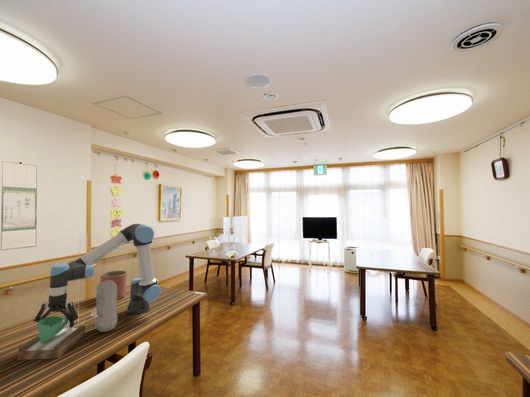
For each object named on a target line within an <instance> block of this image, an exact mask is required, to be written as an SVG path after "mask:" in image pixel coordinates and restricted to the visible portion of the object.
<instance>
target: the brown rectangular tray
mask: <svg viewBox="0 0 530 397" xmlns="http://www.w3.org/2000/svg"><path fill="white" fill-rule="evenodd" d="M85 335H86V325H80V326H78V327H72V332H71V333H70V334H67V328H63V329H62V330H61V331H60V332H59V333H57V334H56V335H55V336H54V338H53V339H52V340H51V341H48V342H41V340H40V337H39V334H38V335H37V336H35V337H34V338H33V339H30V340H29V341H28V342H26V343H25V344H23V345H22V346H20V347H18V352H17V355H18V356H17V361H26V360H27V361H28V360H46V359H59V358H60V356H61V355H62V356H63V355H64V354H65V353H66V352H68V351H69V350H70V349H71V348H72V347H73V346H74V345H75V344H77V343H78V342H79V341H80V340H81V339H82V338H83V337H84V336H85ZM62 356H61V357H62Z"/></svg>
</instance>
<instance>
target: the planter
mask: <svg viewBox="0 0 530 397" xmlns="http://www.w3.org/2000/svg"><path fill="white" fill-rule="evenodd" d="M99 276H100V277H99V284H100V283H102V282H104V281H106V280H112V281H114V282H115V283H116V285H117V301H119V300H120V299H121V298H123V297H125V296H126V289H127V281H128V271H126V270H118V269H117V270H110V271H109V270H108V271H105V272H102V273H100V275H99Z"/></svg>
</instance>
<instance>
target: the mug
mask: <svg viewBox="0 0 530 397" xmlns="http://www.w3.org/2000/svg"><path fill="white" fill-rule="evenodd" d="M68 322H69V320H68V319H67V318H66V317H65V315H63V316H57V315H56V316H55V315H54V316H47V317H46V318H44V319H43V320H42V319H41V320H40V321H39V322H37V330H38V335H39V337H40V340H41V342H48V341H51V340H52V339H53V338H54V336H55V335H56V334H57V333H59V332H60V331H61V330H62V329H65V327H66V325H68Z"/></svg>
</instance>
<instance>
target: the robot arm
mask: <svg viewBox="0 0 530 397" xmlns="http://www.w3.org/2000/svg"><path fill="white" fill-rule="evenodd" d="M154 236H155V231H154V229H153V227H152V226H150V225H147V224H141V223H133V224H129V225H128V226H126V227H124V228H123V229H121V230H119V231H118V232H117V234H116V235H114V236H113V237H111V238H110V239H108V240H106V241H105V242H103V243H102V244H100V245H98V246H97V247H95V248H93V249H91V250H90V251H89V252H87V253H85V254H84V255H82V256H80V257H79V258H78V259H75V260H70V261H68V262H67V263H62V264H61V263H60V264H54V265H53V266H51V268H50V273H49V286H48V288H49V290H48V295H49V296H48V302H47V301H45V302H44V303H42V304H41V307H40V309H39V311H38V313H37V314H36V316H35V318H34V319H33V322H34V323H35V322H37V323H38V322H39V321H40V320H41V319H42V320H43V319H44V318H46V317H49V315H50V314H51V313H54V312H55V313H56V312H57V313H61V314H63V316H65V317H66V318H67V319H68V323H67V327H66V329H67V334H70V333H71V332H72V328H74V326H75V321H76V320H77V319H79V315H78V313H77V311H76V309H75V307H74V303H73V301H70V302H67V299H68V298H67V297H68V293H67V292H68V284H69V282H73V281H79V280H85V279H88V278H92V277H93V276H94V274H95V266H94V265H93V264H95V263H96V262H98V261H99V260H101V259H102V258H104V257H105V256H107V255H109V254H110V253H112V252H114V250H116V249H118V248H120V247H121V246H123V245H124V244H128V243H130V242H132V243H133V244H132V245H133V246H134V247H135V248H136V254H137V262H138V270H139V277H138V278H137V277H136V278H133V279H132V280H131V281H130V282H131V283H130V294H129V296H130V297H129V302H128V305H127V308H126V313H127V314H129V315H139V314H144V313H146V312H148V311H149V310H150V309H151V308H150V307H151V304H150V302H154V301H156V300H157V299H158V298H159V297H160V295H161V293H162V288H161V286H160V285H158V280H157V278H156V277H155V271H154V266H153V258H152V257H153V256H152V248H151V245H152V243H153V239H154ZM47 308H48V309H47ZM46 309H47V310H46ZM45 311H46V312H45Z"/></svg>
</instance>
